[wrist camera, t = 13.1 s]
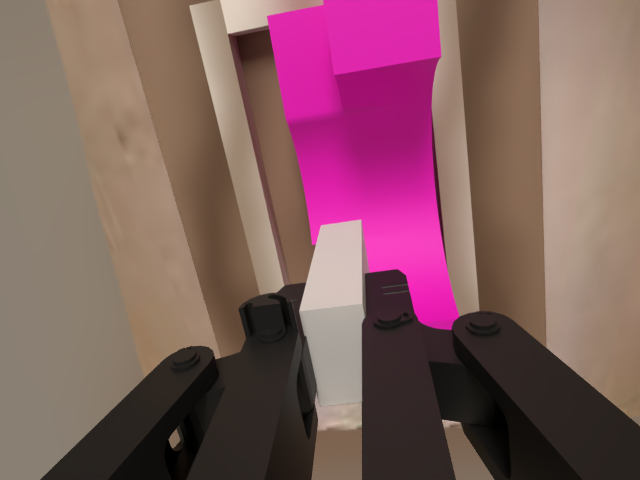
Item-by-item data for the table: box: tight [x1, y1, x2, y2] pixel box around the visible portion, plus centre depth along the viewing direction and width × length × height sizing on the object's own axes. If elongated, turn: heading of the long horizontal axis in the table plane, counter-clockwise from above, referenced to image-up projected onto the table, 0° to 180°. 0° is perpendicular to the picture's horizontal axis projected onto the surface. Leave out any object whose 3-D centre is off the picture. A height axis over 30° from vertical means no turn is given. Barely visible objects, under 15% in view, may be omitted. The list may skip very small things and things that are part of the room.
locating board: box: [118, 0, 546, 358], centre depth 25 cm, size 20×24×3 cm
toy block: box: [267, 0, 460, 330], centre depth 21 cm, size 15×6×8 cm, turn 9°
